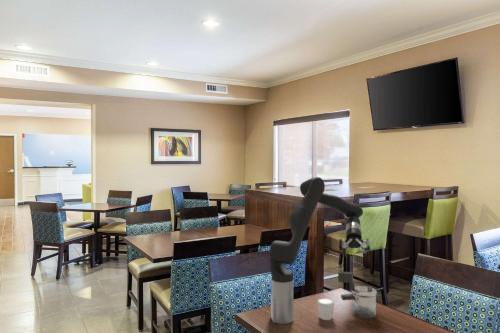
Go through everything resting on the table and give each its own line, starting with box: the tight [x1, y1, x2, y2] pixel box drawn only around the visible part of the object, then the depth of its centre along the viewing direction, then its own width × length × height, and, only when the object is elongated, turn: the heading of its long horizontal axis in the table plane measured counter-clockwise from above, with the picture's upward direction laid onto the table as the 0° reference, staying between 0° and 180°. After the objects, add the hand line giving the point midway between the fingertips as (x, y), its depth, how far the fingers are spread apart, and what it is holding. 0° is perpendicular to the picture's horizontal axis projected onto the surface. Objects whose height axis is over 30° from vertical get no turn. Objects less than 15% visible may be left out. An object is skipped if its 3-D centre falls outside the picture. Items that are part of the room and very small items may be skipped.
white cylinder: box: [317, 298, 335, 321], centre depth 157 cm, size 7×7×7 cm
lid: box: [337, 271, 378, 297], centre depth 162 cm, size 16×11×8 cm, turn 71°
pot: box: [340, 292, 377, 319], centre depth 161 cm, size 15×10×9 cm, turn 96°
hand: (354, 255), depth 169 cm, fingers open, 8 cm apart
